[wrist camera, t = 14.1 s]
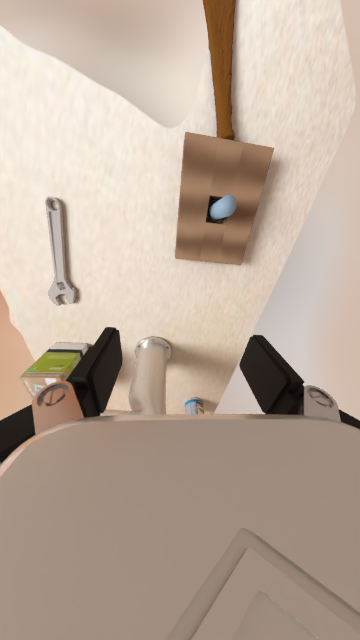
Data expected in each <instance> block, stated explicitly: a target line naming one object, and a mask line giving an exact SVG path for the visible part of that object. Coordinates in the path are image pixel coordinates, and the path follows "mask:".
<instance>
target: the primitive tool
mask: <svg viewBox="0 0 360 640" xmlns="http://www.w3.org/2000/svg"><path fill="white" fill-rule="evenodd" d="M203 5H204V10H205V17H206V23H207V30H208V39H209V50H210V54H211V65H212V76H213V86H214V95H215V106H216V118H217V138H222V139H228V140H233V141H234V138H235V136H234V132H233V130H232V123H231V114H232V105H231V76H232V73H231V70H232V44H233V28H234V12H235V0H203Z"/></svg>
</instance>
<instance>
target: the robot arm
mask: <svg viewBox="0 0 360 640" xmlns="http://www.w3.org/2000/svg"><path fill="white" fill-rule="evenodd" d="M135 354H136V357H137V358H138V359H137V363H136V367H135V371H134V374H133V378H132V382H131V386H130V390H129V403H130V406H131V409H132V411H121V410H108V409H106V406H107V403H108V401H109V398H110V395H111V392H112V390H113V387H114V384H115V382H116V379H117V376H118V373H119V371H120V368H121V365H122V351H121V343H120V335H119V330H116V328H112V327H106V328H105V329H104V331H103V332H102V334H101V335H100V337H99V338H98V340H97V341H96V343H95V344H94V346H91V347H89V348H88V350H87V351H86V353H85V354H84V355H83V357H82V358H81V360H80V361H79V362H78V364H77V365H76V367H75V368H74V369H73V371H72V372H71V374H70V375H69V376H68V378H67V379H66V381H58V382H54V383H51V384H49V385H47V386H45V387H44V388H42V389H41V390H40V391H39V392H38V393H37V394H36V395H35V396H34V398H33V400H32V404H31V405H30V406H28V407H26V408H24V409H22V410H20V411H18V412H16V413H14V414H12V415H10V416H8V417H6V418H4V419H3V420H1V421H0V640H360V421H359V420H358V419H355V418H354V417H352V416H350V415H348V414H347V413H344V412H342V411H341V410H339V409H338V406H337V403H336V402H335V400H334V399H333V398H332V397H331V396H330V395H329V394H328V393H326V392H325V391H324V390H322V389H320V388H318V387H315V386H311V385H309V386H306V387H304V386H303V385H302V384H303V383H304V381H303V380H302V378H301V377H300V376H299V375H298V374H297V373H296V372H295V371H294V370H293V369H292V367H291V366H290V365H289V364H288V363H287V362H286V361H285V360H284V359H283V357H282V356H281V355H280V354H279V353H278V352H277V351H276V350H275V349H274V347H273V346H272V345H271V344H270V343H269V342H268V341H267V340H266V339H265V338H264V337H263V336H262V335H253V336H252V337H250V339H249V342H248V344H247V347H246V349H245V352H244V354H243V356H242V359H241V362H240V369H241V371H242V372H243V375H244V376H245V378H246V380H247V382H248V384H249V386H250V388H251V390H252V392H253V394H254V396H255V398H256V399H257V401H258V404H259V405H260V407H261V409H262V411H263V412H264V413H265V414H177V415H166V367H167V361H168V360H169V358H170V356H171V347H170V345H169V344H168V343H167V342H166V341H165V340H163V339H161V338H157V337H148V338H145V339H143V340H141V341H140V342H139V343H138V344H137V346H136V349H135Z"/></svg>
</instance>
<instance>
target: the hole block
mask: <svg viewBox="0 0 360 640" xmlns="http://www.w3.org/2000/svg"><path fill="white" fill-rule="evenodd" d="M273 151H274V148H271V147H266V146H260V145H255V144H249V143H244V142H239V141H233V140H228V139H222V138H217V137H211V136H206V135H200V134H195V133H189V132H185V139H184V147H183V160H182V173H181V186H180V199H179V212H178V225H177V237H176V250H175V259H185V260H195V261H205V262H215V263H225V264H235V265H241V263H242V259H243V256H244V252H245V249H246V245H247V242H248V238H249V235H250V231H251V228H252V224H253V221H254V217H255V214H256V210H257V207H258V203H259V200H260V196H261V193H262V189H263V186H264V182H265V179H266V175H267V172H268V168H269V165H270V161H271V158H272V154H273ZM226 195H232V196H234V198H235V199H236V203H237V205H236V209H235V211H234V213H233V214H232V215H230V216H228V217H224V218H222V222H221V224H215V223H207V222H206V217H207V210H208V204H209V200H215V201H218V200H220V199H221V198H223V197H224V196H226Z"/></svg>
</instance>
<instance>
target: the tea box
mask: <svg viewBox="0 0 360 640" xmlns="http://www.w3.org/2000/svg"><path fill="white" fill-rule="evenodd" d="M87 350H88V347H87V344H86V343H64V342H56V343H55V344H54V345H53V346H52V347H51V348H50V349H49V350H48V351H47V352H45V353H44V354H43V355H42V356H41V357H40V358H39V359H38V360H37V361H36V362H35V363H34V364H33V365H32V366H31V367H30V368H29V369H28V370H27V371H26V372H25V373H23V375H21V376H20V379H21V381H22V382H23V384H24V386H25V387H26V389H27V391H28V392H29V394H30V395H31V397H32V398H34V396H35V395H36V394H37V393H38V392H39V391H40V390H41V389H42V388H44V387H45V386H47V385H49V384H51V383H54V382H58V381H66V379H67V378H68V376H69V375H70V374H71V372H72V371H73V369H74V368H75V367H76V365H77V364H78V362H79V361H80V360H81V358H82V357H83V355H84V354H85V353H86V351H87Z"/></svg>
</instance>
